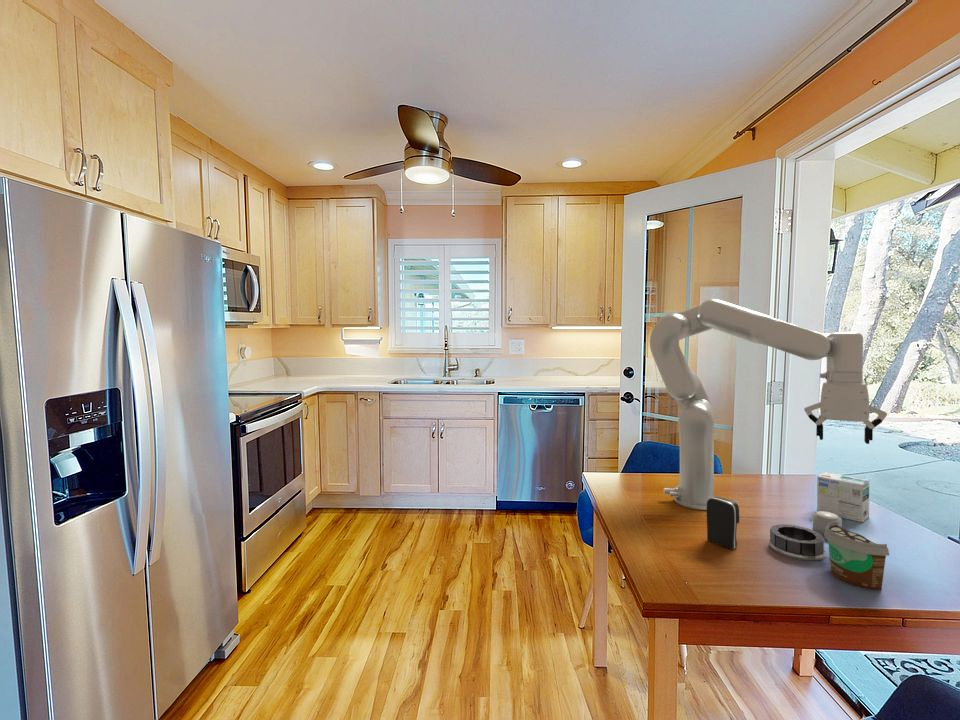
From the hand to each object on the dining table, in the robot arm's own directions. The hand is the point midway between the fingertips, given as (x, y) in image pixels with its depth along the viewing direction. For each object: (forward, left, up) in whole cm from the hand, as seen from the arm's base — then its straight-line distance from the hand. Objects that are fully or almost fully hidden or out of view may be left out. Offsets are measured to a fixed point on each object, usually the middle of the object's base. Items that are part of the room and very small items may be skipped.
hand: (843, 440), depth 121 cm
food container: (-15, -31, -23) cm, 41 cm away
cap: (-7, -7, -23) cm, 25 cm away
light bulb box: (+4, +7, -23) cm, 25 cm away
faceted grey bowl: (-19, -18, -23) cm, 35 cm away
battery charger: (-35, -17, -23) cm, 45 cm away
